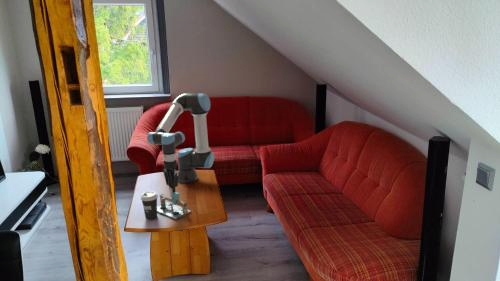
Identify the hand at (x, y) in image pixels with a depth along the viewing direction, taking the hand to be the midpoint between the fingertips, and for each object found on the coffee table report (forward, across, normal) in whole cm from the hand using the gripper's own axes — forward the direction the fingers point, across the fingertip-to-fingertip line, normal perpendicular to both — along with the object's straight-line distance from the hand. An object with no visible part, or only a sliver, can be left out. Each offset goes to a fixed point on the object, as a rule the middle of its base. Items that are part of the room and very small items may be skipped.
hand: (173, 196), depth 222 cm
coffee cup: (+9, -4, -14) cm, 17 cm away
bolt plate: (+9, 0, -2) cm, 9 cm away
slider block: (+8, +2, -1) cm, 8 cm away
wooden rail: (+8, 0, -1) cm, 8 cm away
